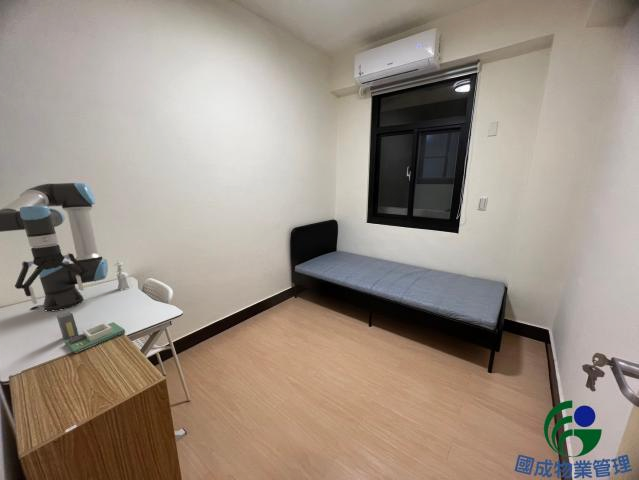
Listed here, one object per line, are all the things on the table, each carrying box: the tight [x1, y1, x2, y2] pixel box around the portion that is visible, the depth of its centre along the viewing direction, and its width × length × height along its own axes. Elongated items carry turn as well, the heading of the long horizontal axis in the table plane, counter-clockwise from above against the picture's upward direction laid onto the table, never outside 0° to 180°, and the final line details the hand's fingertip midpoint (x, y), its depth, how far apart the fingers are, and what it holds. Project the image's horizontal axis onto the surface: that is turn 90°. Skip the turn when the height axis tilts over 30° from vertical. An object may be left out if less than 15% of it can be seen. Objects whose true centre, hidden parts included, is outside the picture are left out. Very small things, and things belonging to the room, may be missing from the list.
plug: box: [56, 311, 80, 341], centre depth 104 cm, size 5×4×10 cm
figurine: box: [113, 260, 134, 290], centre depth 153 cm, size 7×8×18 cm
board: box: [64, 322, 126, 353], centre depth 102 cm, size 12×16×4 cm
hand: (59, 296), depth 101 cm, fingers open, 13 cm apart
